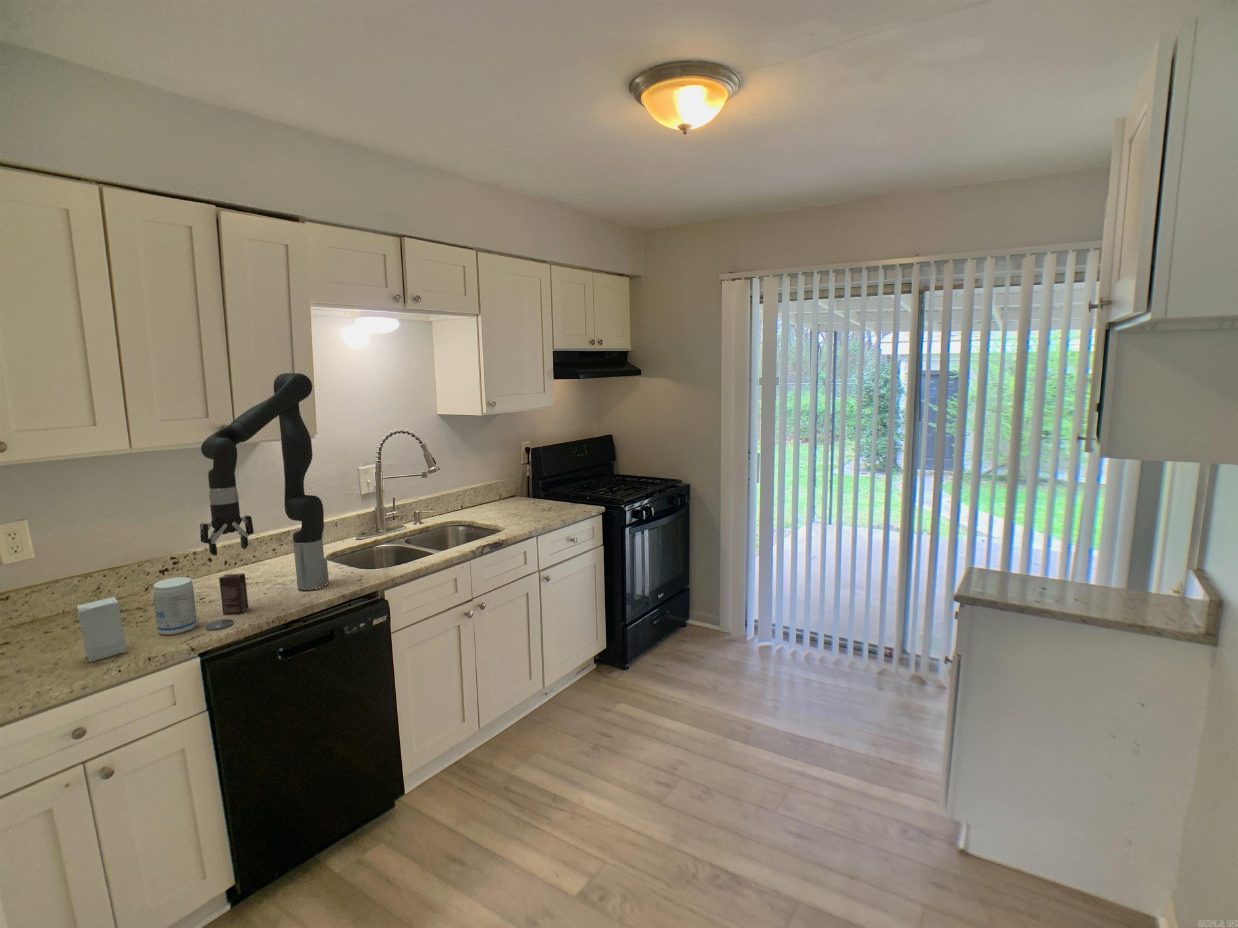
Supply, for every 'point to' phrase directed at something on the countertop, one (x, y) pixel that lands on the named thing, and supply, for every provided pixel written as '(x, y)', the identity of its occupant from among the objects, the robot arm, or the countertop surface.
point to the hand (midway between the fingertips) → (229, 551)
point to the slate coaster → (219, 624)
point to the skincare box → (102, 628)
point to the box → (233, 593)
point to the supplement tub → (174, 605)
